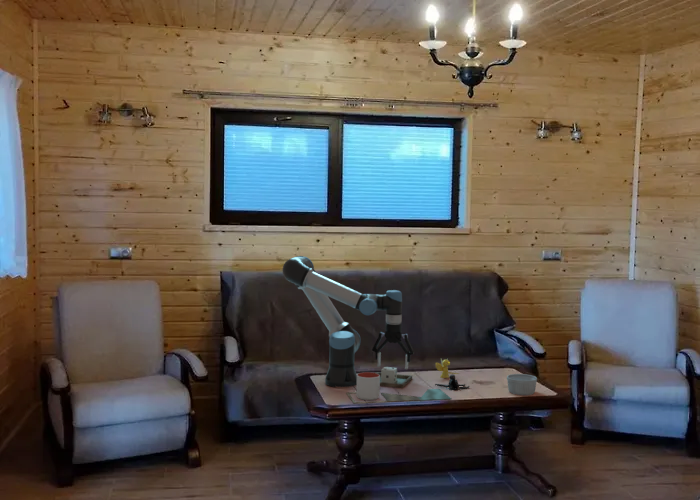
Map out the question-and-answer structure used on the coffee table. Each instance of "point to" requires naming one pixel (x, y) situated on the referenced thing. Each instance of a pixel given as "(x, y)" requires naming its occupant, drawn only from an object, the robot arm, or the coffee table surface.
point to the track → (408, 397)
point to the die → (389, 375)
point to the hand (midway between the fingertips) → (392, 367)
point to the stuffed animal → (453, 384)
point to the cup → (368, 386)
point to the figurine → (444, 368)
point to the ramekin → (521, 384)
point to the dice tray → (400, 383)
